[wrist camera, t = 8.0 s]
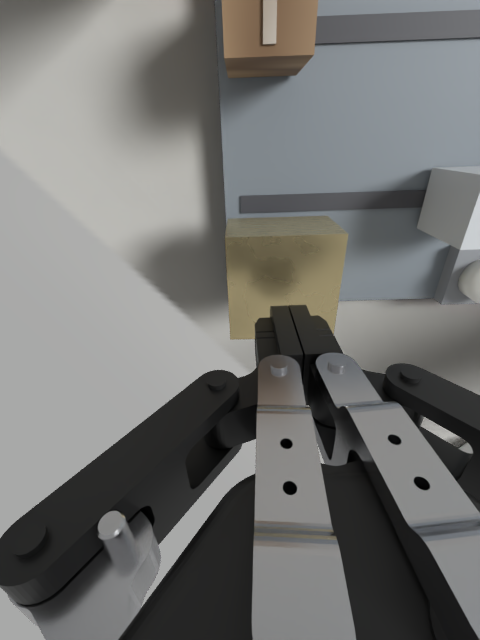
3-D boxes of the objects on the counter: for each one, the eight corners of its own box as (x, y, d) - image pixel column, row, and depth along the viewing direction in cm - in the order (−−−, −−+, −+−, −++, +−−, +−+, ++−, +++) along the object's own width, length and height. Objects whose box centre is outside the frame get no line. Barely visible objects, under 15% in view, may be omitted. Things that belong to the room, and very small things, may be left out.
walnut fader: (300, -22, 14) (324, -86, 10) (296, 75, 16) (314, 53, 12) (224, -19, 14) (218, -81, 10) (227, 78, 16) (224, 57, 12)
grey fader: (493, 165, 18) (565, 173, 14) (471, 226, 20) (530, 248, 16) (432, 167, 18) (487, 175, 14) (416, 228, 20) (461, 250, 16)
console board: (631, -57, 15) (780, -131, 11) (488, 287, 24) (538, 318, 20) (214, -38, 15) (204, -104, 11) (230, 294, 24) (228, 326, 20)
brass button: (327, 215, 17) (348, 233, 14) (317, 304, 20) (333, 336, 16) (227, 218, 17) (224, 237, 14) (232, 306, 20) (230, 339, 16)
